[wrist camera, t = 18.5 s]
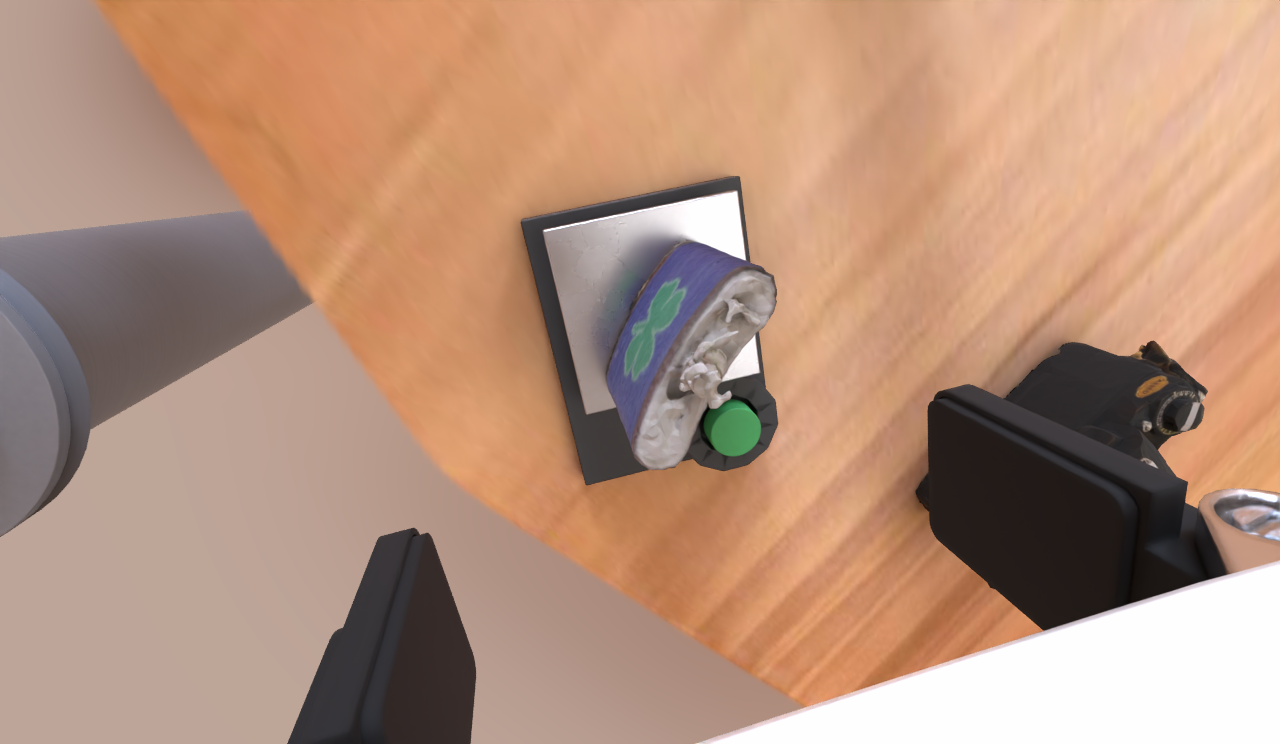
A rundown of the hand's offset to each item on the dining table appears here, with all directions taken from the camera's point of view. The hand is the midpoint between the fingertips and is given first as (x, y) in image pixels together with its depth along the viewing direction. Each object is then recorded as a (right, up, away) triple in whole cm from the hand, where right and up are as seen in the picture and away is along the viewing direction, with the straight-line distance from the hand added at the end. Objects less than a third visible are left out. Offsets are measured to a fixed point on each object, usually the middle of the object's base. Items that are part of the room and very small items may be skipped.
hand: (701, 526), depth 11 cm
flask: (0, +6, +21) cm, 21 cm away
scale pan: (0, +6, +21) cm, 22 cm away
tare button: (+4, 0, +24) cm, 25 cm away
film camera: (+26, -2, +32) cm, 42 cm away
